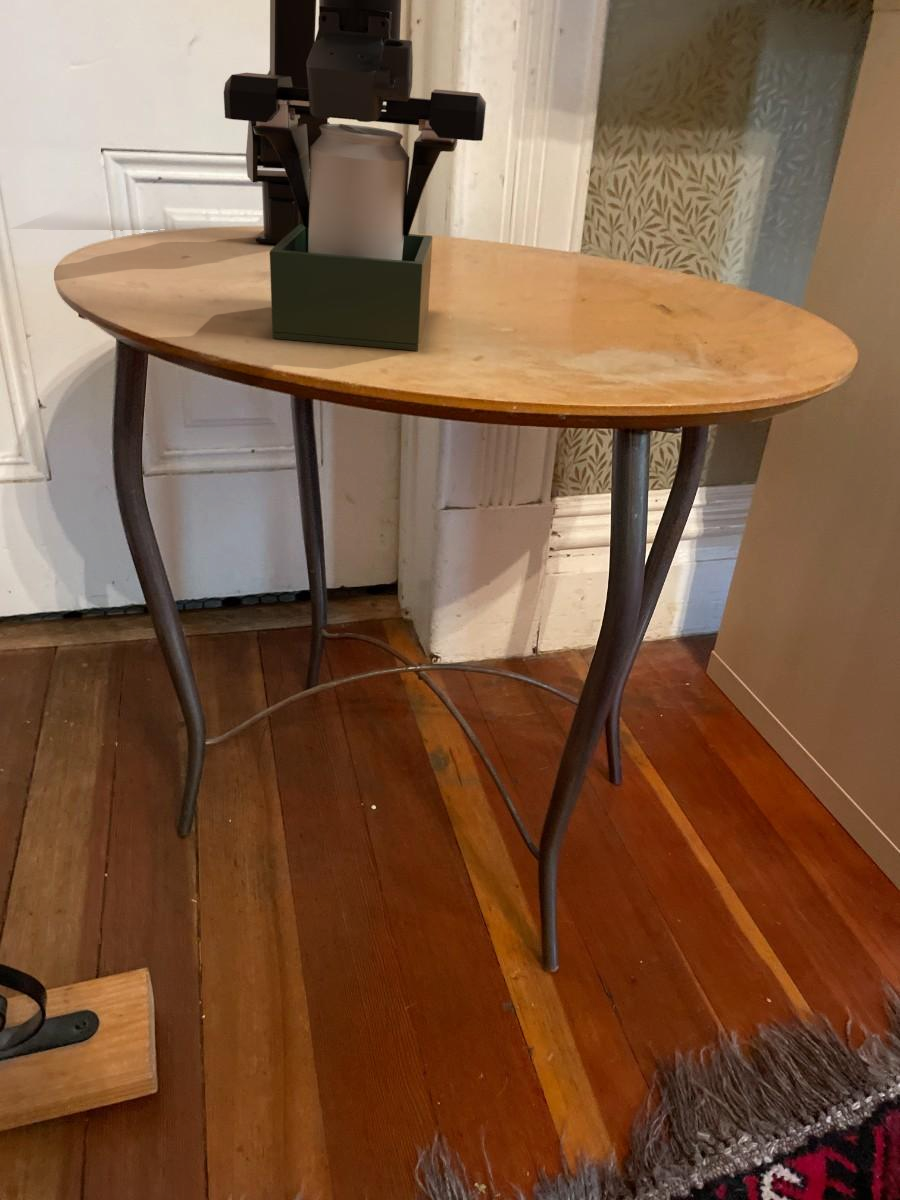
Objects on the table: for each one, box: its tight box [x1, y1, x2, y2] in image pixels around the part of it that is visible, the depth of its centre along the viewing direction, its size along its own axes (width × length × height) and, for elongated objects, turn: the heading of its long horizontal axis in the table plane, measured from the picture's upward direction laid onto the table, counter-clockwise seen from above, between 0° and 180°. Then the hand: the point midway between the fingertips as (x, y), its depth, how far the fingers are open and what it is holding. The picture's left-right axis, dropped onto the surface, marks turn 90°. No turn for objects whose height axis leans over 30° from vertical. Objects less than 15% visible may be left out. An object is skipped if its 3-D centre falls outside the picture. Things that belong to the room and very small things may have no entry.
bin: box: [269, 224, 433, 352], centre depth 72 cm, size 11×11×6 cm
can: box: [308, 123, 410, 260], centre depth 69 cm, size 8×8×12 cm
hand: (356, 231), depth 70 cm, fingers closed on can, 7 cm apart
